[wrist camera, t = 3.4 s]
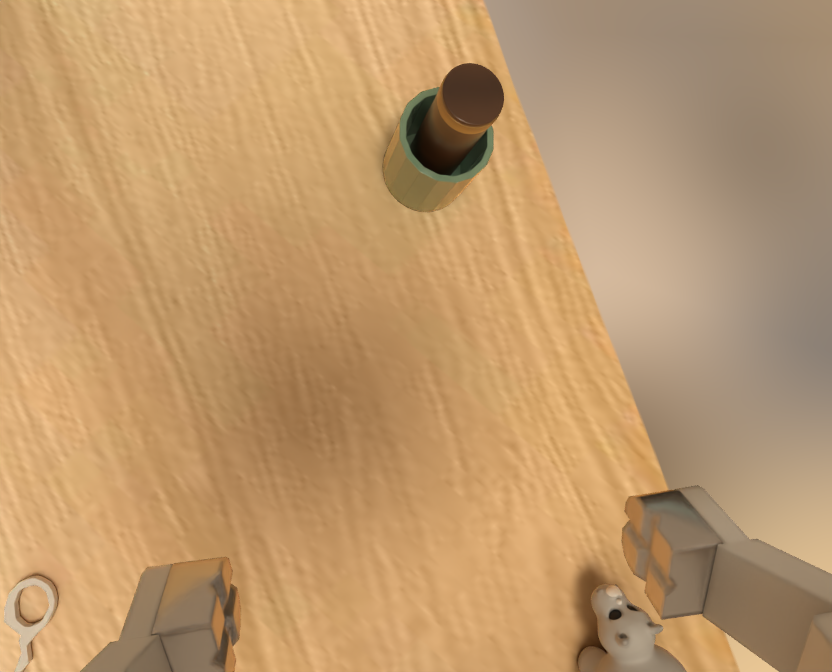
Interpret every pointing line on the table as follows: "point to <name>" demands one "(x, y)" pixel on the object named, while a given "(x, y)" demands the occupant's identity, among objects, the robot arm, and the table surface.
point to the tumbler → (418, 182)
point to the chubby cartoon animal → (624, 637)
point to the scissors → (20, 624)
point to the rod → (457, 117)
